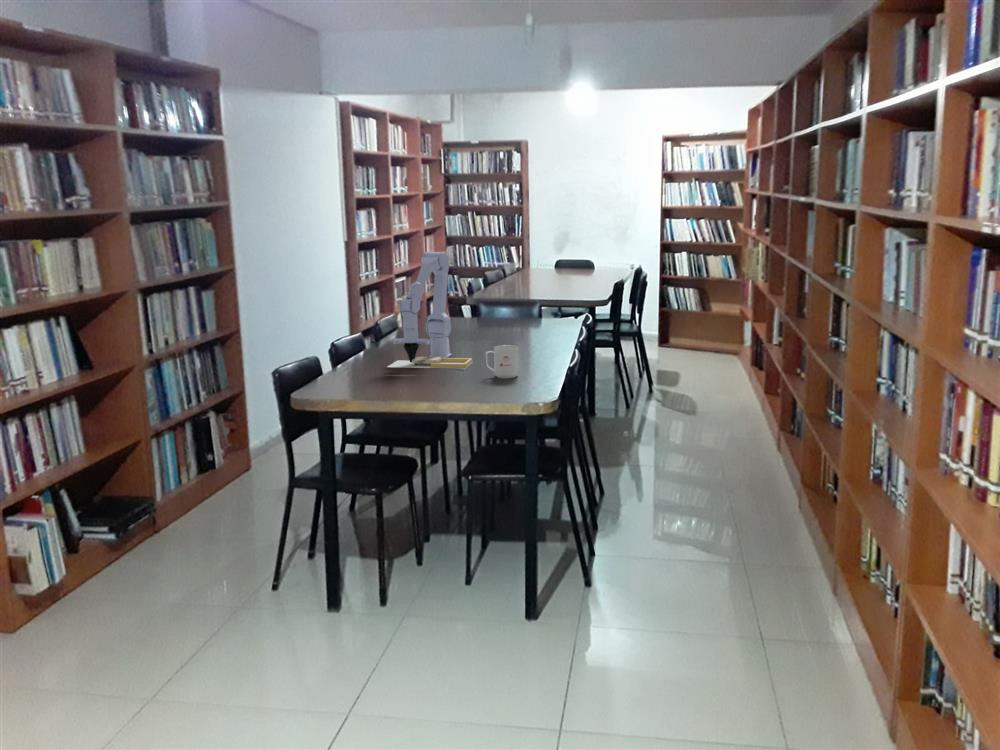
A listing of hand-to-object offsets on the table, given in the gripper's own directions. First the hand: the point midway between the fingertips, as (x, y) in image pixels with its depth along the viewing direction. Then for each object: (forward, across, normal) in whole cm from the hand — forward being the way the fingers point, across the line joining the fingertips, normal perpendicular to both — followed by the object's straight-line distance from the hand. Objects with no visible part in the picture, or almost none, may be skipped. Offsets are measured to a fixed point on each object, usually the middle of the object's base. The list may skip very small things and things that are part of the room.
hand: (412, 361), depth 353 cm
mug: (+2, +41, -18) cm, 44 cm away
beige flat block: (+1, +6, 0) cm, 6 cm away
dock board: (+1, +8, 0) cm, 8 cm away
